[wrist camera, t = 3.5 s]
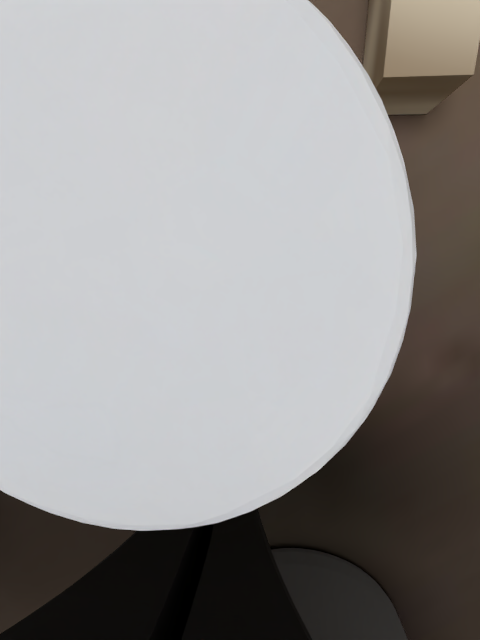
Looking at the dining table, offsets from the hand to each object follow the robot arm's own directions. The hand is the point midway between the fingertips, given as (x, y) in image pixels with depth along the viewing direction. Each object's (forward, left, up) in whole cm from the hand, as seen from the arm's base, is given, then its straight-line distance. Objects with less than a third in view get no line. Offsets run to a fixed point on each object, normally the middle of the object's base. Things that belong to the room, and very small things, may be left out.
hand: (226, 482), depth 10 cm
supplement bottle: (+7, 0, -4) cm, 8 cm away
